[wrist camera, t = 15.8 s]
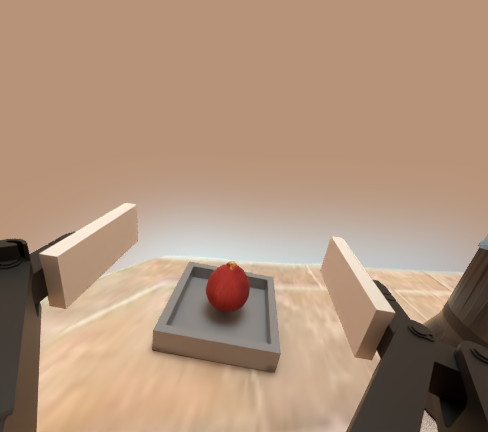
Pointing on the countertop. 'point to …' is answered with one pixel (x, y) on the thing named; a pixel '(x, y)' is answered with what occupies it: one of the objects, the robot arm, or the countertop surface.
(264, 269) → the countertop surface
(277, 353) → the bin
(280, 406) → the countertop surface
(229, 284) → the onion
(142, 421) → the countertop surface
